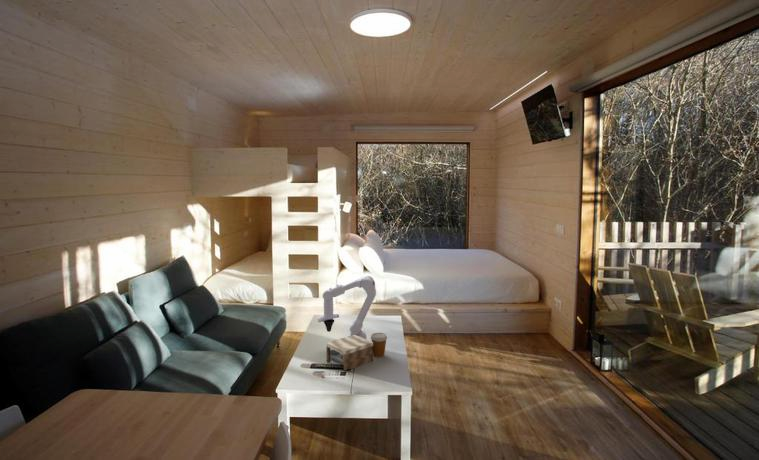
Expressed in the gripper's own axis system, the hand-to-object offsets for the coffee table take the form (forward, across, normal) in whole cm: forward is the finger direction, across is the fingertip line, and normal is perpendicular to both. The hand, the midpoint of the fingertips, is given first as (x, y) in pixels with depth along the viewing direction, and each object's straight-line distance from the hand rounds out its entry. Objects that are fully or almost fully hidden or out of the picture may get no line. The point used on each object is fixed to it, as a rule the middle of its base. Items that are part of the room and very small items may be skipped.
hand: (328, 331), depth 273 cm
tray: (+9, +5, +23) cm, 26 cm away
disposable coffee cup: (+10, -13, +31) cm, 35 cm away
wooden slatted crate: (+9, +5, +27) cm, 29 cm away
